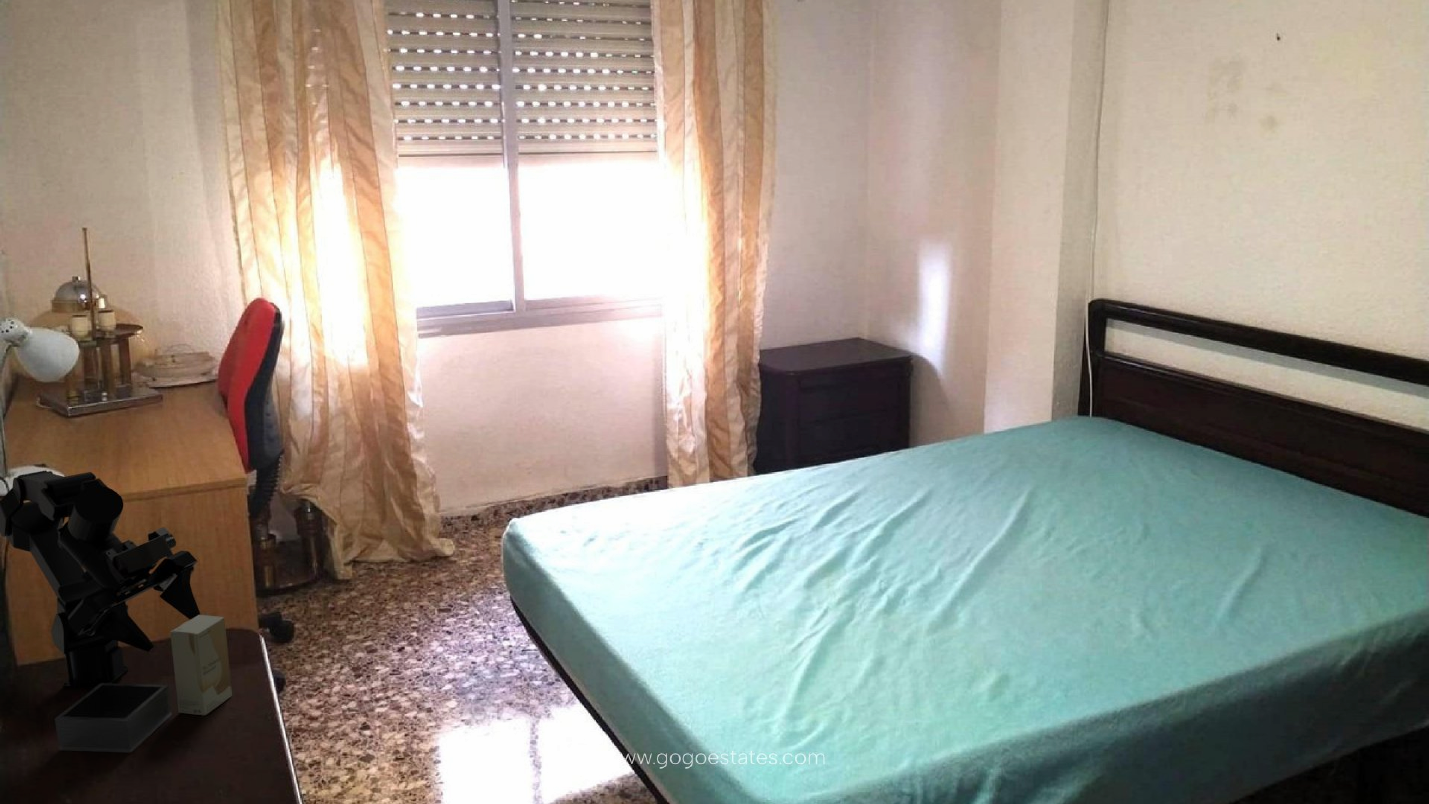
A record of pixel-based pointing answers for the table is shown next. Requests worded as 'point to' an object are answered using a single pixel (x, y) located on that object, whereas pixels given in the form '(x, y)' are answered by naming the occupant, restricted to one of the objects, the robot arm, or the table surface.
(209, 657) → the skincare box
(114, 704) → the grey open tray
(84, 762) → the table surface
